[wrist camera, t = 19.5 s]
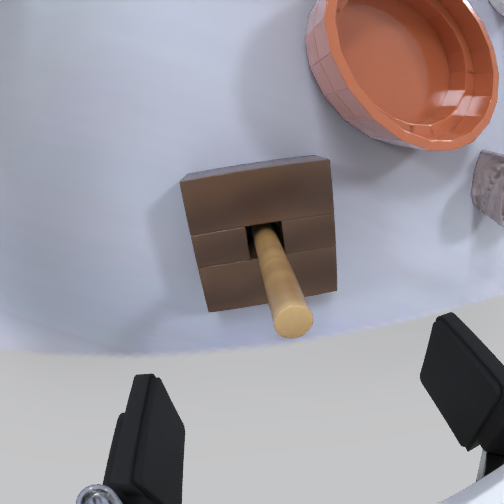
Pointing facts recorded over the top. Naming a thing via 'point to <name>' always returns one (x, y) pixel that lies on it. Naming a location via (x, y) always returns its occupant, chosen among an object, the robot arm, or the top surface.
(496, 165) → the dental mold
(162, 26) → the top surface
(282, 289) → the light wooden dowel
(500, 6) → the dixie cup
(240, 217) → the holder
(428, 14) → the mixing bowl
